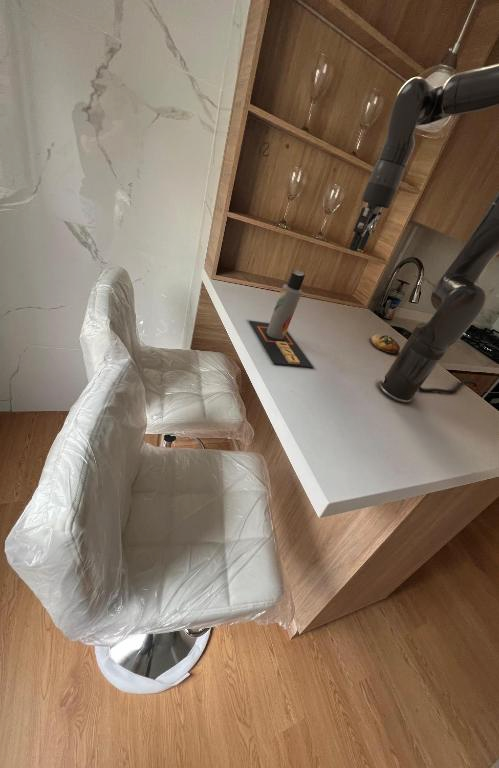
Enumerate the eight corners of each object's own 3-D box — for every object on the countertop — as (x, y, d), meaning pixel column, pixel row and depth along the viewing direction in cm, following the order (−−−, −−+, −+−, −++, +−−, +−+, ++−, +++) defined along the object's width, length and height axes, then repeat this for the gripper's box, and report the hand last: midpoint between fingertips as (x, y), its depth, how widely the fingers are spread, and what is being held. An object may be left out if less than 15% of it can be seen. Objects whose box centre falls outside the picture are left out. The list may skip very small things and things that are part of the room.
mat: (249, 321, 104) (250, 317, 104) (282, 326, 109) (283, 323, 108) (274, 364, 86) (276, 360, 86) (312, 368, 91) (314, 364, 90)
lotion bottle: (286, 337, 102) (312, 275, 91) (278, 341, 97) (303, 276, 87) (271, 329, 104) (295, 266, 93) (262, 332, 99) (285, 268, 88)
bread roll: (404, 355, 120) (410, 343, 117) (380, 356, 116) (385, 344, 113) (385, 340, 128) (390, 329, 126) (362, 341, 125) (366, 329, 122)
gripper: (393, 185, 77) (363, 255, 86) (401, 191, 88) (373, 252, 97) (363, 176, 79) (337, 246, 88) (374, 183, 91) (350, 244, 99)
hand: (356, 249), depth 92 cm, fingers open, 8 cm apart
